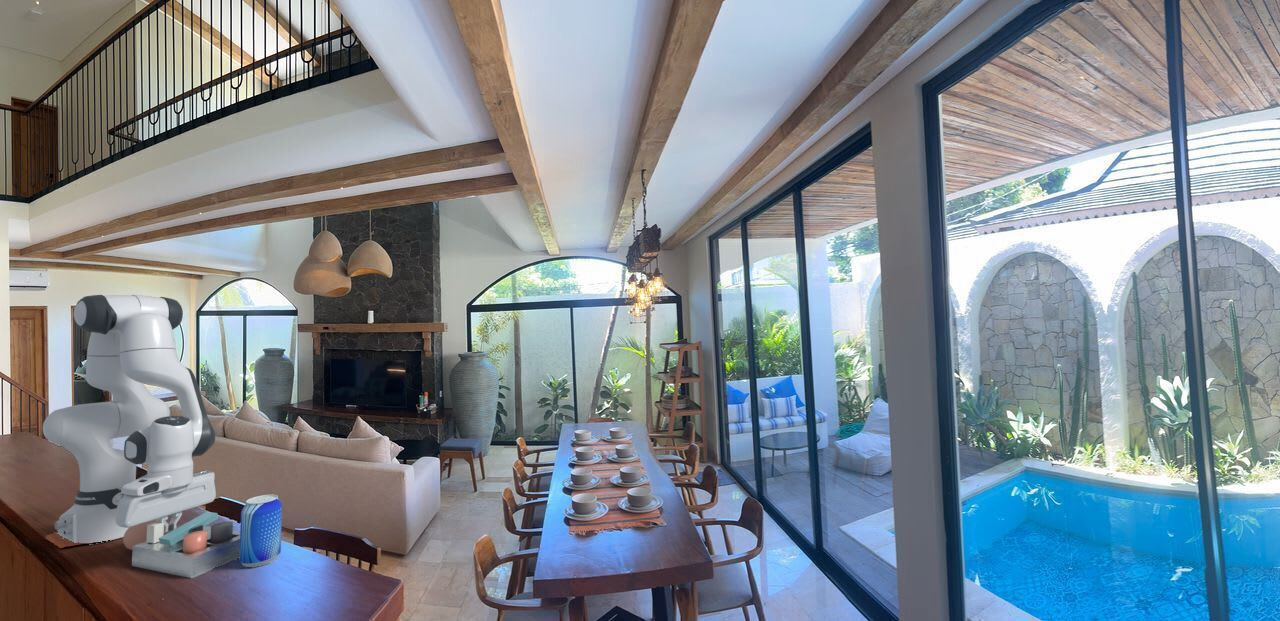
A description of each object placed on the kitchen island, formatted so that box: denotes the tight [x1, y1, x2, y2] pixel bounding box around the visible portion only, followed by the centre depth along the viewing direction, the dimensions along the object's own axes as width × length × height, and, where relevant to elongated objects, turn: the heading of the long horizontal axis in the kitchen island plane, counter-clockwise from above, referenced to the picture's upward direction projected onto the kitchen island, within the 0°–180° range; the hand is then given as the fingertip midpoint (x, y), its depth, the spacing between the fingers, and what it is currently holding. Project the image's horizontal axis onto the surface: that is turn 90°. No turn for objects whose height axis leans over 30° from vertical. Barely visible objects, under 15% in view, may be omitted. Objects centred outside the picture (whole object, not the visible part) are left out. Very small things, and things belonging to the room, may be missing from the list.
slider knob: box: [146, 522, 165, 543], centre depth 125 cm, size 3×2×4 cm
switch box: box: [131, 523, 240, 579], centre depth 126 cm, size 22×14×8 cm, turn 74°
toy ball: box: [122, 519, 157, 551], centre depth 131 cm, size 8×8×8 cm
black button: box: [210, 521, 234, 544], centre depth 127 cm, size 4×4×6 cm
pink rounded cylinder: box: [183, 531, 207, 555], centre depth 121 cm, size 4×4×6 cm
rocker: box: [159, 511, 220, 546], centre depth 126 cm, size 4×11×2 cm, turn 164°
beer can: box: [238, 494, 283, 568], centre depth 125 cm, size 8×8×16 cm
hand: (168, 531), depth 127 cm, fingers closed
